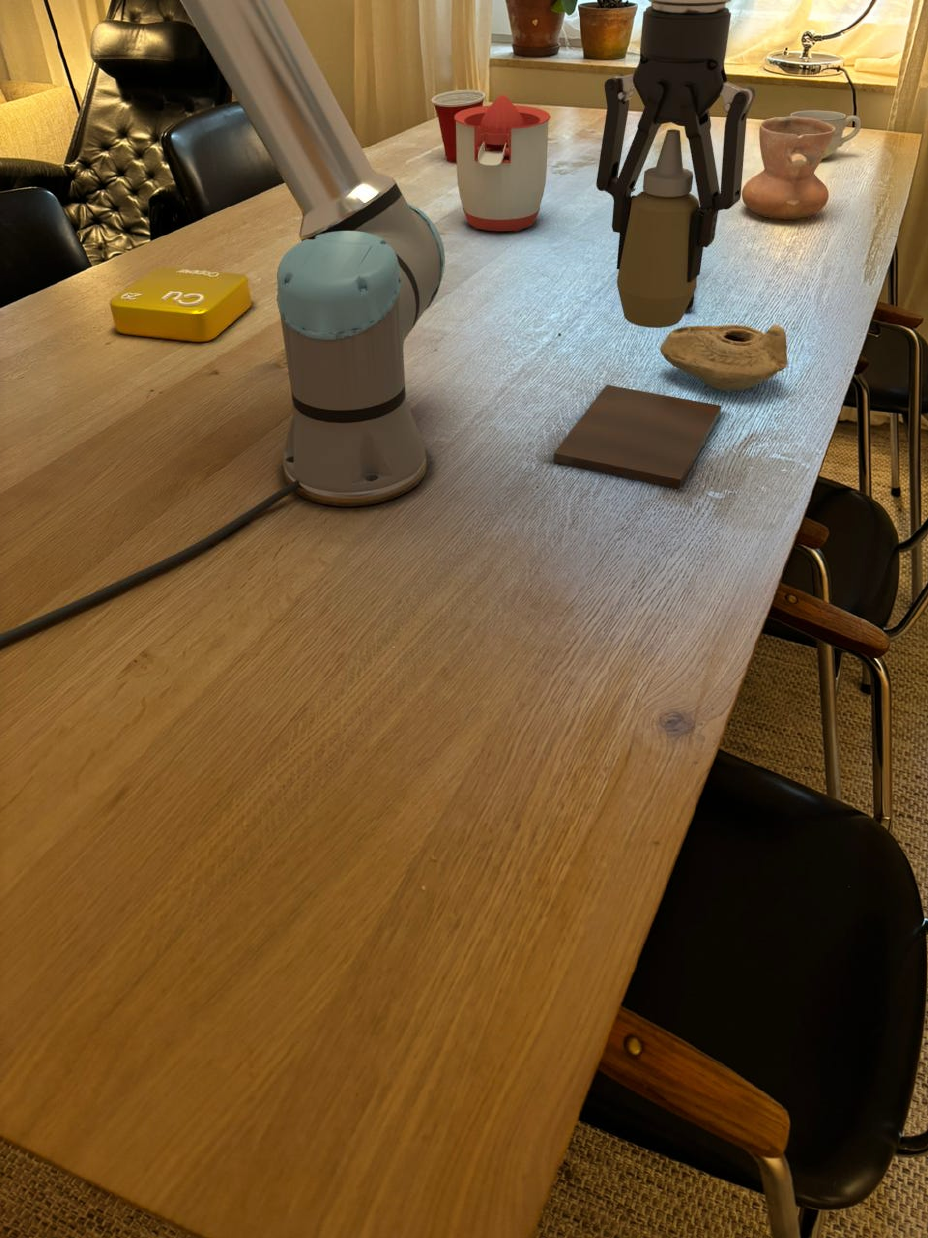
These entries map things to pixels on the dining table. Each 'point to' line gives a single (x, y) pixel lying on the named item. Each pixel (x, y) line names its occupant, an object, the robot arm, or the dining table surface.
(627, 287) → the squeeze bottle
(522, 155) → the citrus juicer
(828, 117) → the teacup
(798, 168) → the ceramic jug
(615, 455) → the walnut board
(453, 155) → the plastic cup
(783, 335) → the oil lamp
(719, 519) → the dining table surface
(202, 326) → the element tile
